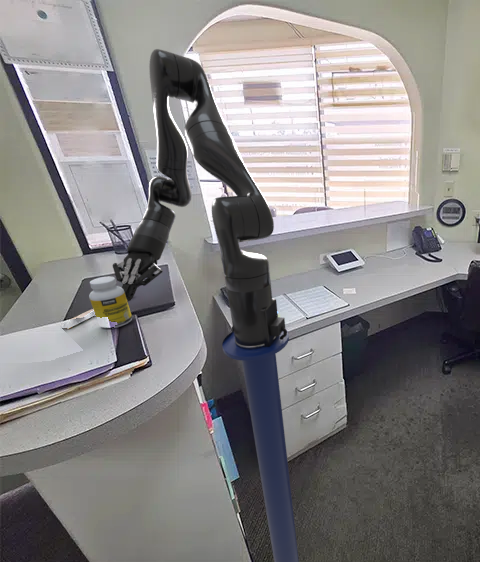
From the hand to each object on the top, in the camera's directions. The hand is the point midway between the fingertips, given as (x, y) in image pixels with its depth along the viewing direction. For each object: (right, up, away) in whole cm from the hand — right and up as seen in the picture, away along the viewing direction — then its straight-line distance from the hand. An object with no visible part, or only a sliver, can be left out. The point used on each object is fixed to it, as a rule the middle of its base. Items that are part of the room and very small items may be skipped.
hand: (124, 299), depth 78 cm
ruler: (-10, -4, +4) cm, 11 cm away
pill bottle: (-1, -6, -1) cm, 6 cm away
